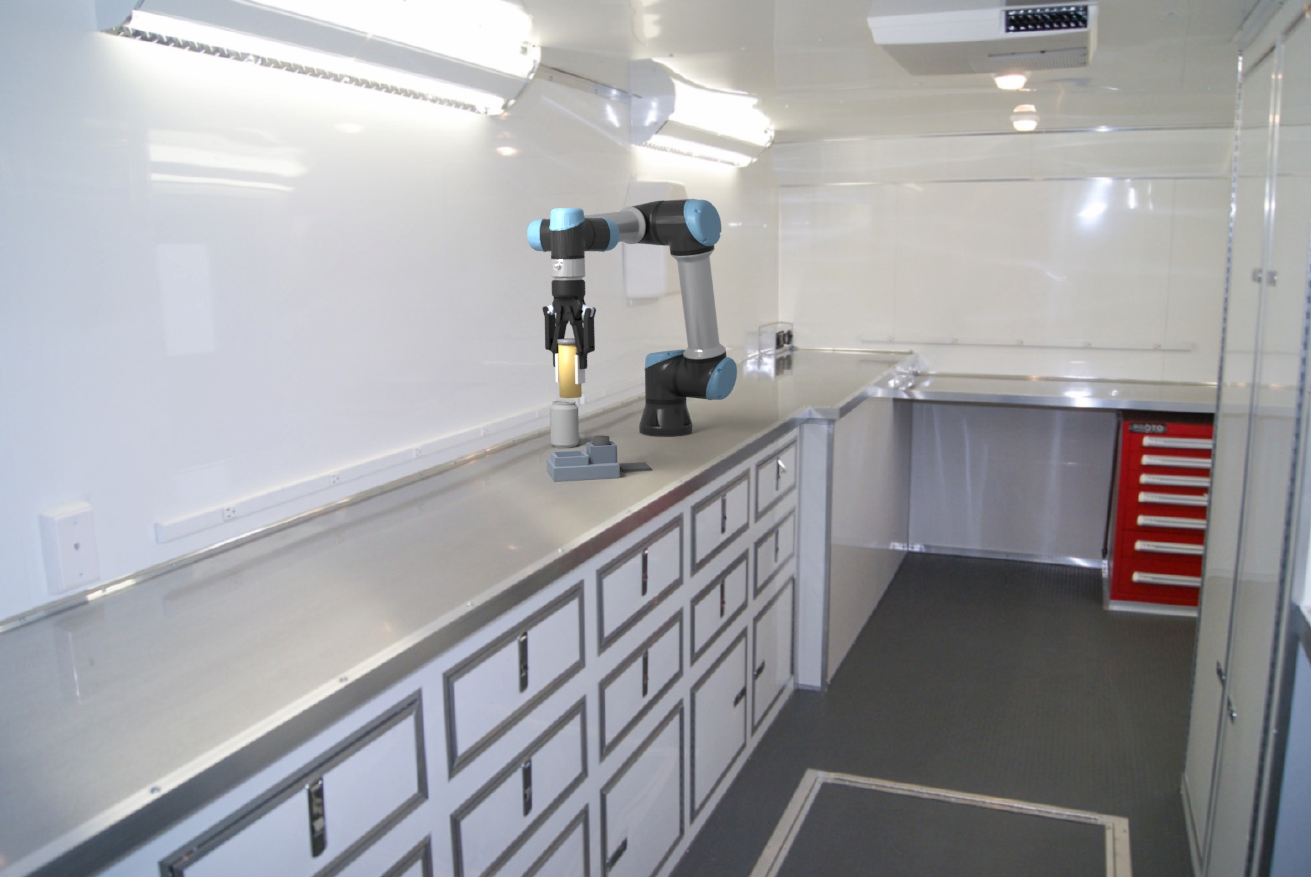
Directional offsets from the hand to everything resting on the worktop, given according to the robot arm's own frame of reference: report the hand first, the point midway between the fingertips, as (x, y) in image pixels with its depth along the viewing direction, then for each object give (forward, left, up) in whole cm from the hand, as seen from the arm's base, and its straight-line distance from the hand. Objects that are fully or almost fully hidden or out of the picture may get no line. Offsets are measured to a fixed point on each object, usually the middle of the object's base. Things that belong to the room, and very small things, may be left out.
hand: (570, 382), depth 235 cm
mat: (-15, -4, -22) cm, 27 cm away
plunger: (-7, 0, -18) cm, 19 cm away
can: (-4, -36, -22) cm, 42 cm away
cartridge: (0, 0, -3) cm, 3 cm away
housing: (-2, 0, -22) cm, 22 cm away
